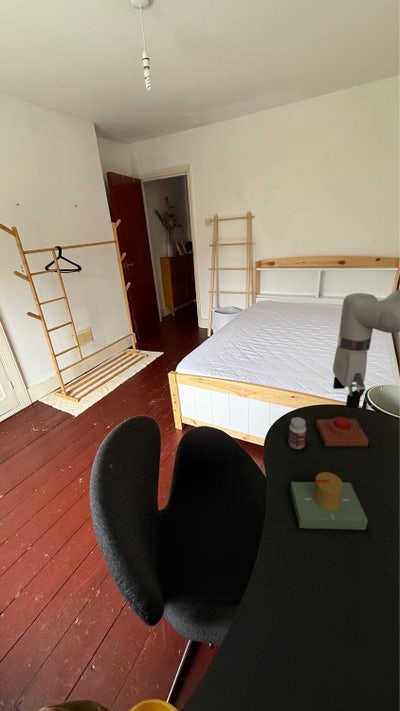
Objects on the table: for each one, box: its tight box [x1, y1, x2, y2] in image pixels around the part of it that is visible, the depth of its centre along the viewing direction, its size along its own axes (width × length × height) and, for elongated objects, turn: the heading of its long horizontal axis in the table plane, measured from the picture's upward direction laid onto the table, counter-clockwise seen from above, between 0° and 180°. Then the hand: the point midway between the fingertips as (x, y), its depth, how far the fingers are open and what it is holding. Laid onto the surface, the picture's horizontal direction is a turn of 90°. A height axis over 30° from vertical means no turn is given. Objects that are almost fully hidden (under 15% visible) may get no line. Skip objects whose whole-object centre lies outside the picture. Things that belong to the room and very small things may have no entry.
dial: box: [314, 471, 343, 510], centre depth 67 cm, size 6×6×6 cm
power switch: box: [315, 417, 370, 447], centre depth 91 cm, size 12×10×4 cm
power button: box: [335, 416, 350, 429], centre depth 90 cm, size 4×4×2 cm
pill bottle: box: [288, 416, 307, 450], centre depth 88 cm, size 5×5×8 cm
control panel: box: [290, 481, 369, 531], centre depth 69 cm, size 14×10×3 cm
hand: (345, 397), depth 84 cm, fingers open, 9 cm apart
